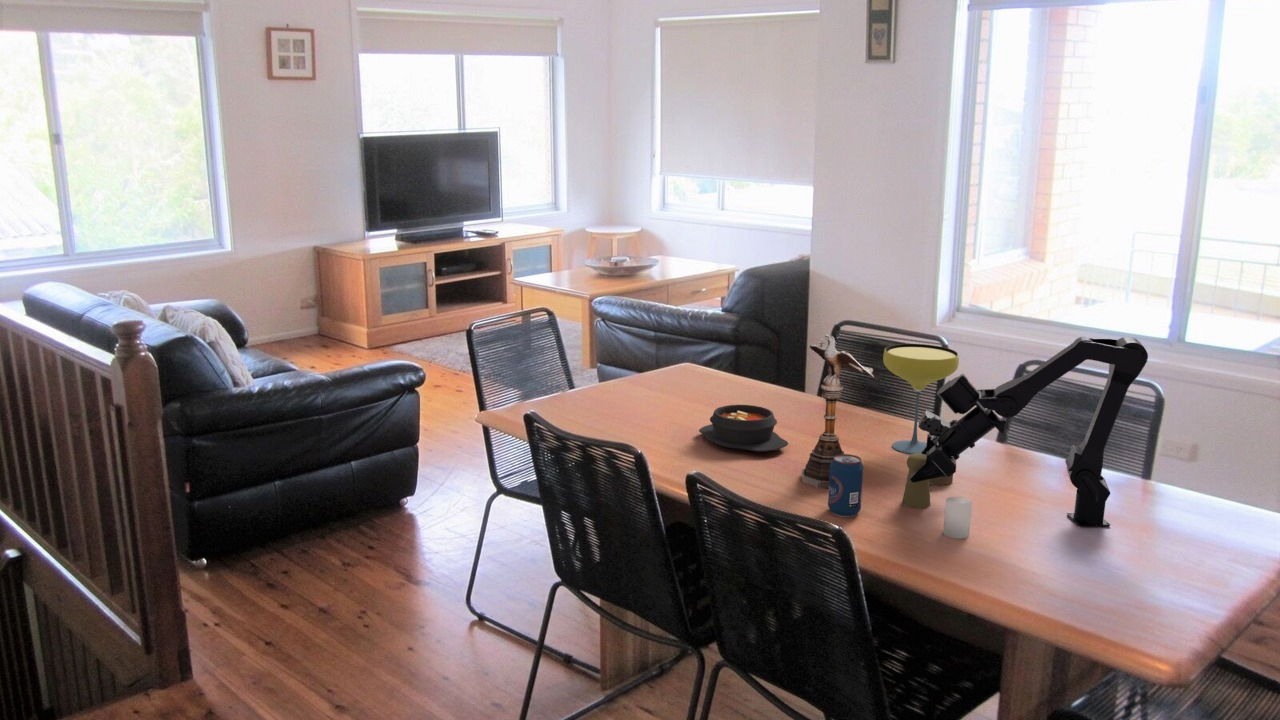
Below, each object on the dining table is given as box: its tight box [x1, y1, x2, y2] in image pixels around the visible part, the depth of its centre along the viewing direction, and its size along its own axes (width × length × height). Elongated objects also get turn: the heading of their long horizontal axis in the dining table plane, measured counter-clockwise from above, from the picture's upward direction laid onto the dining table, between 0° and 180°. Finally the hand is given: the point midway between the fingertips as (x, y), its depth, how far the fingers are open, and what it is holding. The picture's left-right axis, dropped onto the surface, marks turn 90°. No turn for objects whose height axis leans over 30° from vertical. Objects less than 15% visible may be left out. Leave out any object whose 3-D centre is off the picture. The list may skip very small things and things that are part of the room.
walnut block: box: [929, 474, 954, 486], centre depth 243 cm, size 5×5×5 cm
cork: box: [901, 453, 931, 509], centre depth 228 cm, size 6×6×11 cm
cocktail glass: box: [882, 343, 960, 455], centre depth 264 cm, size 18×18×25 cm
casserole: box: [698, 404, 789, 453], centre depth 268 cm, size 25×19×8 cm
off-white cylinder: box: [942, 496, 973, 540], centre depth 212 cm, size 5×5×7 cm
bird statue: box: [801, 333, 875, 489], centre depth 241 cm, size 17×13×35 cm
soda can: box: [827, 453, 865, 518], centre depth 222 cm, size 7×7×12 cm
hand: (911, 473), depth 228 cm, fingers open, 9 cm apart
